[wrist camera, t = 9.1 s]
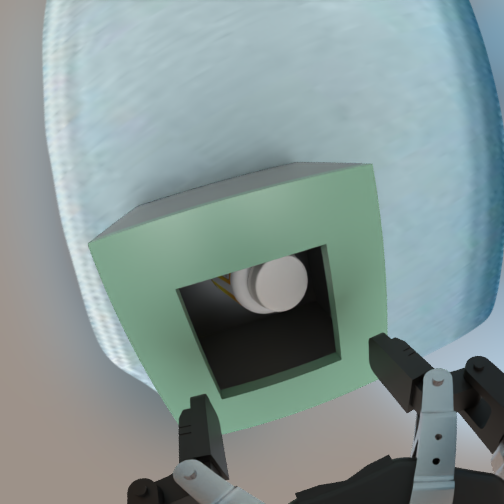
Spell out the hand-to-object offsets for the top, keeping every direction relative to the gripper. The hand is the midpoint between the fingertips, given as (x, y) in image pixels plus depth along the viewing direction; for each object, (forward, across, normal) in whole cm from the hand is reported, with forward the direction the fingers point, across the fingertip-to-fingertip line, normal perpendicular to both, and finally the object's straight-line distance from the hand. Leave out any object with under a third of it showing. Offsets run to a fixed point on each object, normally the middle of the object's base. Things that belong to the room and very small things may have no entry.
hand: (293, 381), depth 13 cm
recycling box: (+19, 0, 0) cm, 19 cm away
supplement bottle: (+18, +1, 0) cm, 18 cm away
